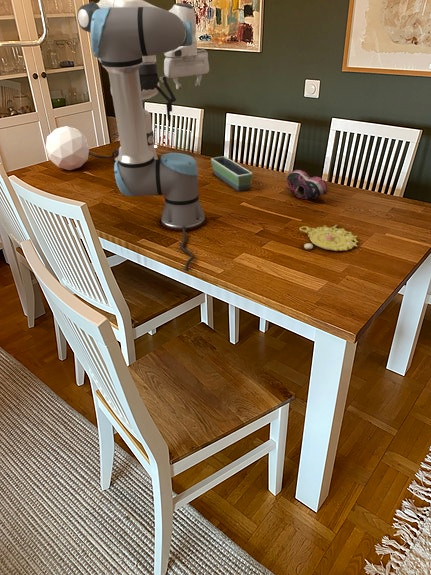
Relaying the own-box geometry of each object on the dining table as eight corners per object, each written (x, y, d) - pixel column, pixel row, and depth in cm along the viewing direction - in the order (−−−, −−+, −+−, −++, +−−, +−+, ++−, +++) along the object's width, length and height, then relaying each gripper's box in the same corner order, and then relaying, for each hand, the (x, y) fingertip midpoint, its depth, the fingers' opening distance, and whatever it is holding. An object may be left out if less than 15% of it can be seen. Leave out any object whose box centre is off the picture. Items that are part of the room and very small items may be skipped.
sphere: (76, 185, 212) (61, 159, 193) (47, 165, 217) (29, 138, 198) (102, 157, 217) (90, 130, 198) (73, 138, 221) (58, 110, 203)
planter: (253, 190, 181) (253, 173, 177) (237, 193, 179) (237, 175, 175) (225, 171, 202) (224, 155, 198) (210, 173, 200) (210, 158, 196)
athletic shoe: (296, 169, 182) (271, 176, 178) (328, 163, 162) (302, 171, 158) (301, 196, 185) (277, 204, 181) (334, 193, 165) (308, 202, 161)
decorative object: (343, 255, 128) (285, 234, 139) (342, 262, 130) (284, 241, 140) (372, 230, 142) (317, 213, 152) (371, 237, 143) (316, 219, 153)
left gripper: (203, 48, 186) (204, 84, 194) (160, 52, 176) (163, 89, 184) (211, 49, 182) (212, 85, 189) (168, 52, 172) (171, 91, 180)
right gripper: (177, 60, 174) (181, 117, 185) (113, 64, 169) (120, 121, 181) (180, 62, 168) (184, 120, 179) (114, 65, 163) (122, 125, 174)
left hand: (188, 87), depth 187 cm, fingers open, 8 cm apart
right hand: (152, 121), depth 180 cm, fingers open, 13 cm apart
